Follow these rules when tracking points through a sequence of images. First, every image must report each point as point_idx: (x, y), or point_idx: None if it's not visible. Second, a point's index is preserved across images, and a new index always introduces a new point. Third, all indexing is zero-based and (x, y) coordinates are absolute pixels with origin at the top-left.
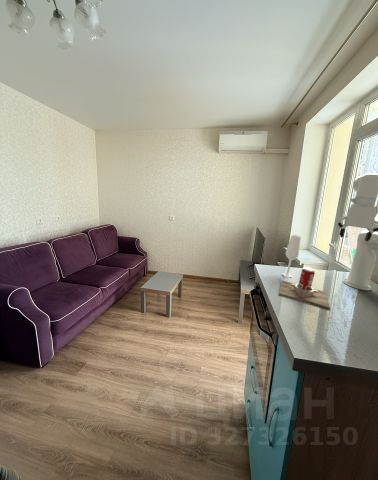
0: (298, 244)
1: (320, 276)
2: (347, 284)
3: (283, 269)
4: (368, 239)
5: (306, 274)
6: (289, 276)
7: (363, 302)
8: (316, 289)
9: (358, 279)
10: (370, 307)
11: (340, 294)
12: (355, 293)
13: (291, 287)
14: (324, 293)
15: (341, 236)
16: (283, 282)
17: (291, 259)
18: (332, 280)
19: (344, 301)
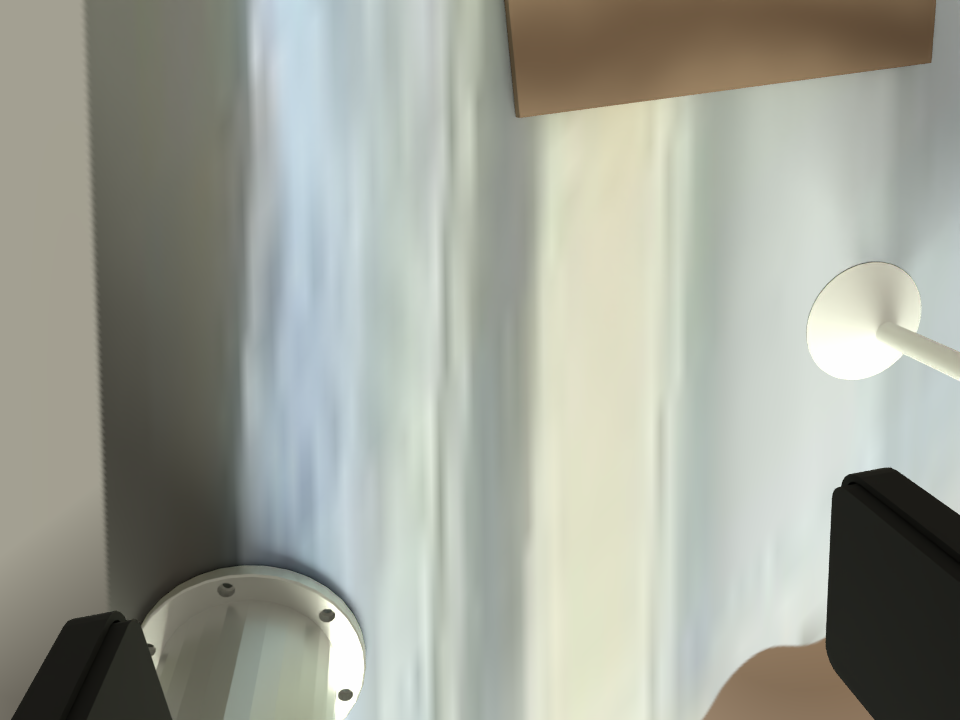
0: None
1: (561, 614)
2: (328, 589)
3: None
4: (52, 659)
5: None
6: (850, 293)
7: (177, 206)
8: (603, 102)
9: (241, 647)
10: (114, 115)
11: (379, 240)
12: (253, 411)
13: None
14: (528, 48)
15: (897, 479)
16: (918, 4)
17: None
18: (456, 600)
19: (339, 55)
